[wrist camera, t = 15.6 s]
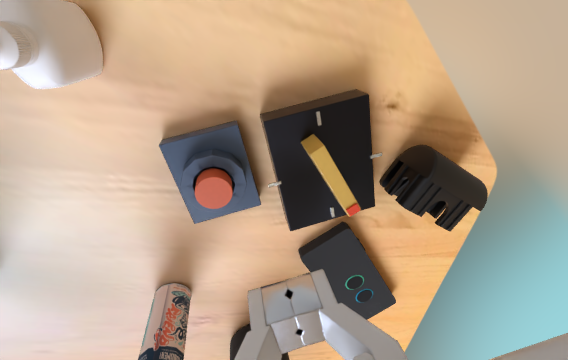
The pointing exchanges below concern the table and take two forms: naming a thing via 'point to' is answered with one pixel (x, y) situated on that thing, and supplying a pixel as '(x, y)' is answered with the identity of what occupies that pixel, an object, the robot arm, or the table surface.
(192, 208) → the button box
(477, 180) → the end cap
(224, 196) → the button
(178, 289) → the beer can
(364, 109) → the rotary switch
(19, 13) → the eye dropper bottle
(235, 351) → the pen holder
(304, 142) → the rotary switch knob
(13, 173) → the table surface
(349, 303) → the smart home device
